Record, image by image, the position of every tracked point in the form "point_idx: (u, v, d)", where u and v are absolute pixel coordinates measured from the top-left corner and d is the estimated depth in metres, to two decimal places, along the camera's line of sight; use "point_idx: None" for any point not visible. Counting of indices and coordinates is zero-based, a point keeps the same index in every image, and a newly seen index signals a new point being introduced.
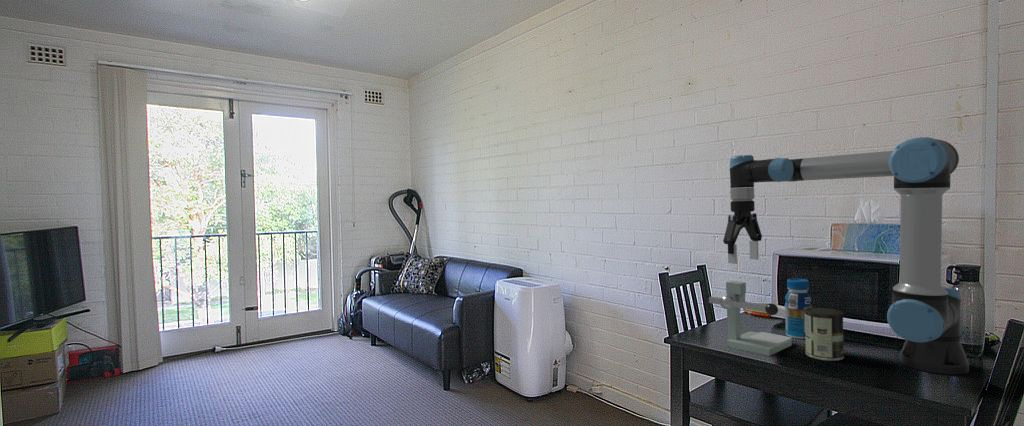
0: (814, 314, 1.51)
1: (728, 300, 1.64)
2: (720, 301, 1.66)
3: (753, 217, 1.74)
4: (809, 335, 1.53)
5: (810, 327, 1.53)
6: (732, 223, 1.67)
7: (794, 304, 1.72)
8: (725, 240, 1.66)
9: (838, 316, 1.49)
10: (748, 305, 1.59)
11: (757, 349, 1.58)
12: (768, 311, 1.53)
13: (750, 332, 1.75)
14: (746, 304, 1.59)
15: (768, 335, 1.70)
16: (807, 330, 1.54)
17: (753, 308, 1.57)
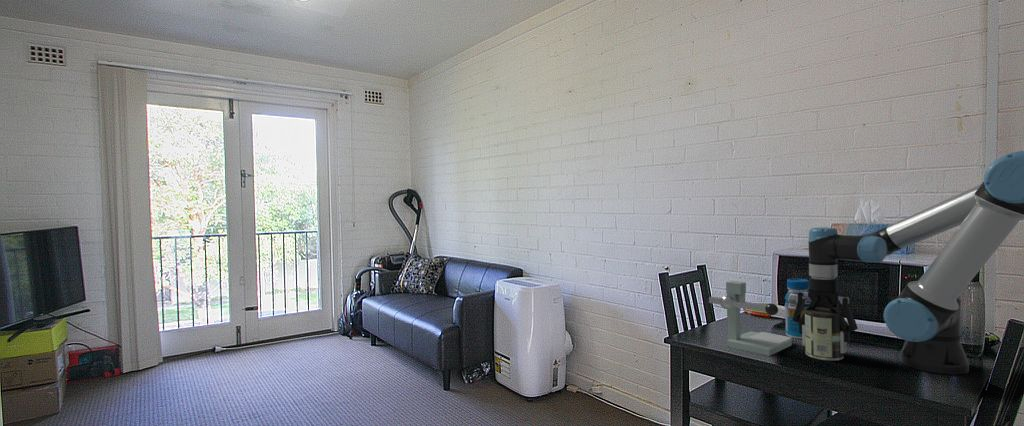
0: (814, 314, 1.51)
1: (728, 300, 1.64)
2: (720, 301, 1.66)
3: (841, 301, 1.49)
4: (809, 335, 1.53)
5: (810, 327, 1.53)
6: None
7: (794, 304, 1.72)
8: None
9: (838, 316, 1.49)
10: (748, 305, 1.59)
11: (757, 349, 1.58)
12: (768, 311, 1.53)
13: (750, 332, 1.75)
14: (746, 304, 1.59)
15: (768, 335, 1.70)
16: (807, 330, 1.54)
17: (753, 308, 1.57)
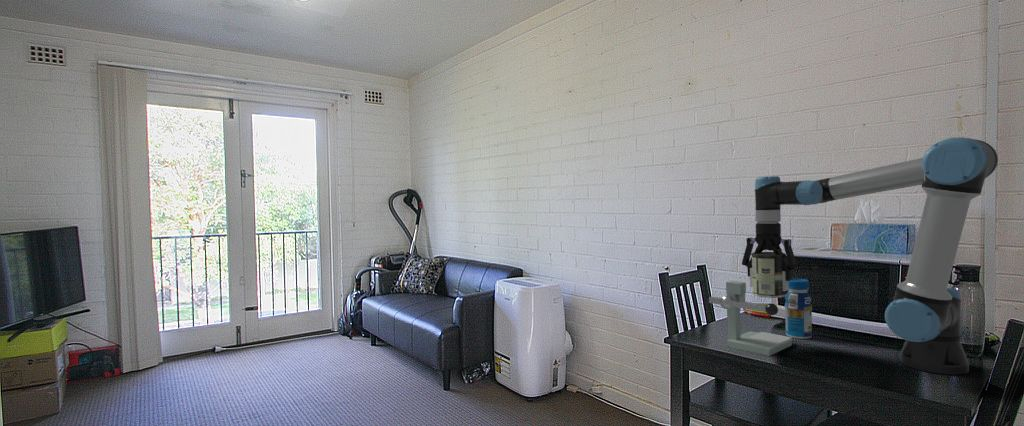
0: (759, 255, 1.64)
1: (728, 300, 1.64)
2: (720, 301, 1.66)
3: (783, 243, 1.61)
4: (755, 276, 1.66)
5: (755, 268, 1.65)
6: None
7: (794, 304, 1.72)
8: None
9: (780, 256, 1.61)
10: (748, 305, 1.59)
11: (757, 349, 1.58)
12: (768, 311, 1.53)
13: (750, 332, 1.75)
14: (746, 304, 1.59)
15: (768, 335, 1.70)
16: (753, 271, 1.67)
17: (753, 308, 1.57)
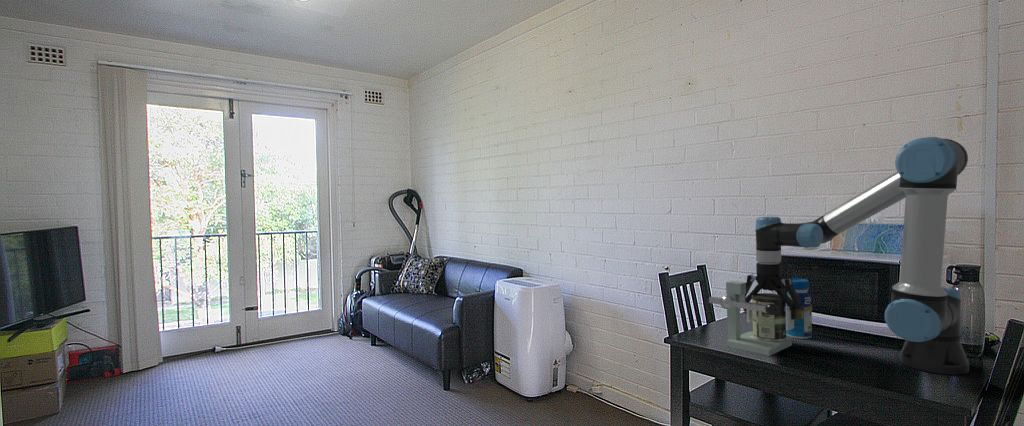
0: (759, 299, 1.64)
1: (728, 300, 1.64)
2: (720, 301, 1.66)
3: (784, 283, 1.62)
4: (755, 318, 1.66)
5: (755, 311, 1.66)
6: None
7: None
8: None
9: (780, 300, 1.62)
10: (748, 305, 1.59)
11: (757, 349, 1.58)
12: (768, 311, 1.53)
13: (750, 332, 1.75)
14: (746, 304, 1.59)
15: None
16: (753, 314, 1.67)
17: (753, 308, 1.57)
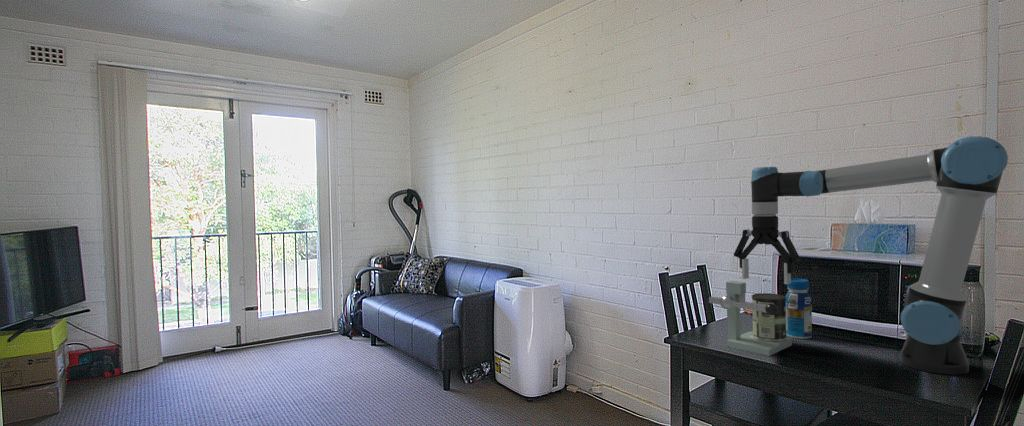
0: (759, 299, 1.64)
1: (728, 300, 1.64)
2: (720, 301, 1.66)
3: (781, 235, 1.54)
4: (755, 318, 1.66)
5: (755, 311, 1.66)
6: None
7: (794, 304, 1.72)
8: None
9: (780, 300, 1.62)
10: (748, 305, 1.59)
11: (757, 349, 1.58)
12: (768, 311, 1.53)
13: (750, 332, 1.75)
14: (746, 304, 1.59)
15: None
16: (753, 314, 1.67)
17: (753, 308, 1.57)
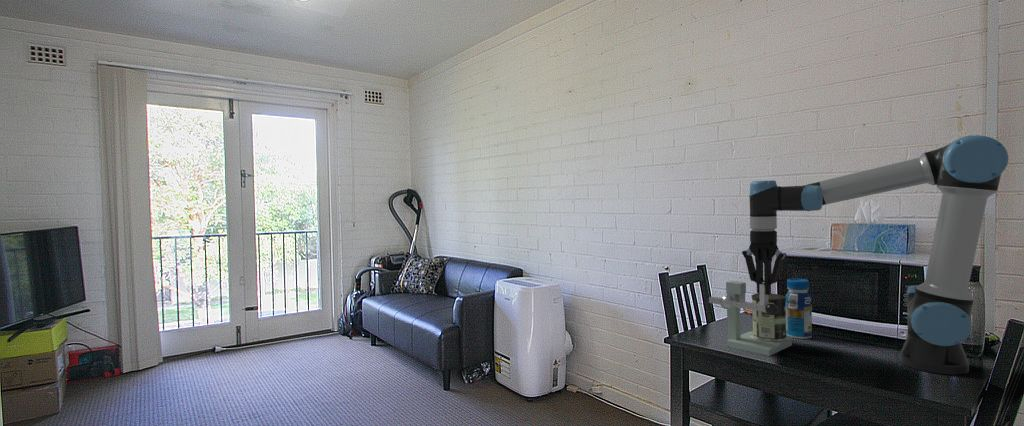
0: (759, 299, 1.64)
1: (728, 300, 1.64)
2: (720, 301, 1.66)
3: (777, 255, 1.51)
4: (755, 318, 1.66)
5: (755, 311, 1.66)
6: None
7: (794, 304, 1.72)
8: None
9: (780, 300, 1.62)
10: (748, 305, 1.59)
11: (757, 349, 1.58)
12: (768, 311, 1.53)
13: (750, 332, 1.75)
14: (746, 304, 1.59)
15: None
16: (753, 314, 1.67)
17: (753, 308, 1.57)
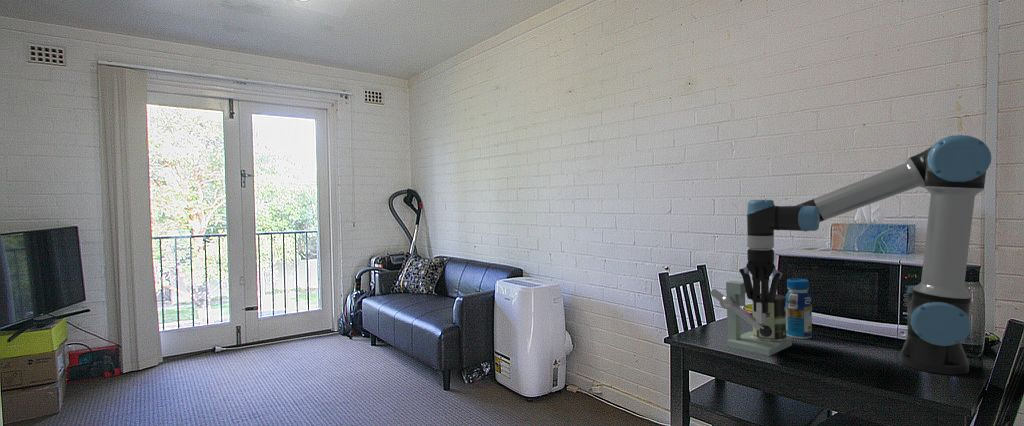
0: None
1: (729, 302, 1.64)
2: (721, 299, 1.66)
3: (774, 274, 1.52)
4: (755, 318, 1.66)
5: None
6: None
7: (794, 304, 1.72)
8: None
9: (780, 300, 1.62)
10: (746, 317, 1.60)
11: (757, 349, 1.58)
12: (762, 332, 1.55)
13: (750, 332, 1.75)
14: (744, 315, 1.60)
15: None
16: (753, 314, 1.67)
17: (749, 321, 1.59)
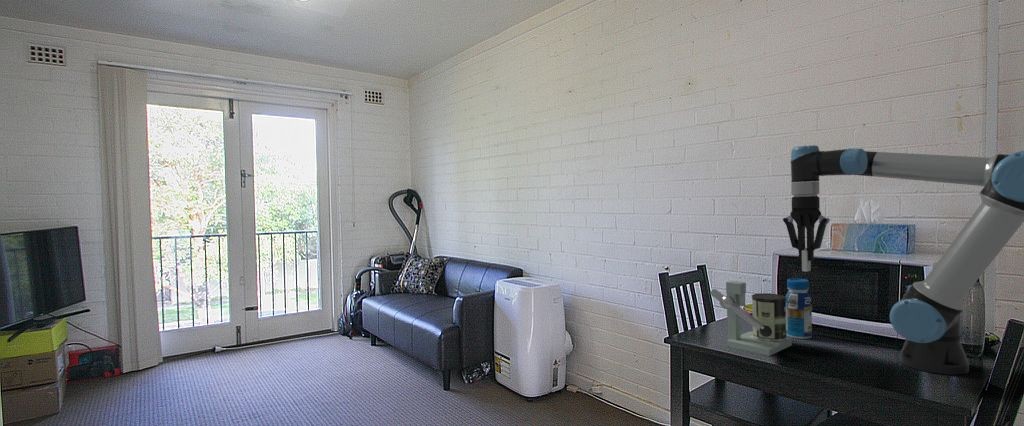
0: (759, 299, 1.64)
1: (729, 302, 1.64)
2: (721, 299, 1.66)
3: (820, 220, 1.50)
4: (755, 318, 1.66)
5: (755, 311, 1.66)
6: None
7: (794, 304, 1.72)
8: None
9: (780, 300, 1.62)
10: (746, 317, 1.60)
11: (757, 349, 1.58)
12: (762, 332, 1.55)
13: (750, 332, 1.75)
14: (744, 315, 1.60)
15: None
16: (753, 314, 1.67)
17: (749, 321, 1.59)
